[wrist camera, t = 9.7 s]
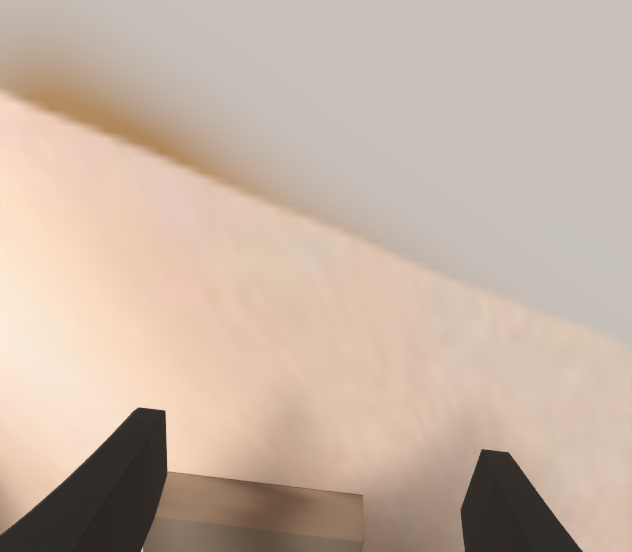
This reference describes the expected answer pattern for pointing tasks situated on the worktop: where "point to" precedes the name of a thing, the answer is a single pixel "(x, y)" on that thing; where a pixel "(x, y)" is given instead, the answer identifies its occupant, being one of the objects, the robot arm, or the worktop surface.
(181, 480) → the base board
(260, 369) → the worktop surface
